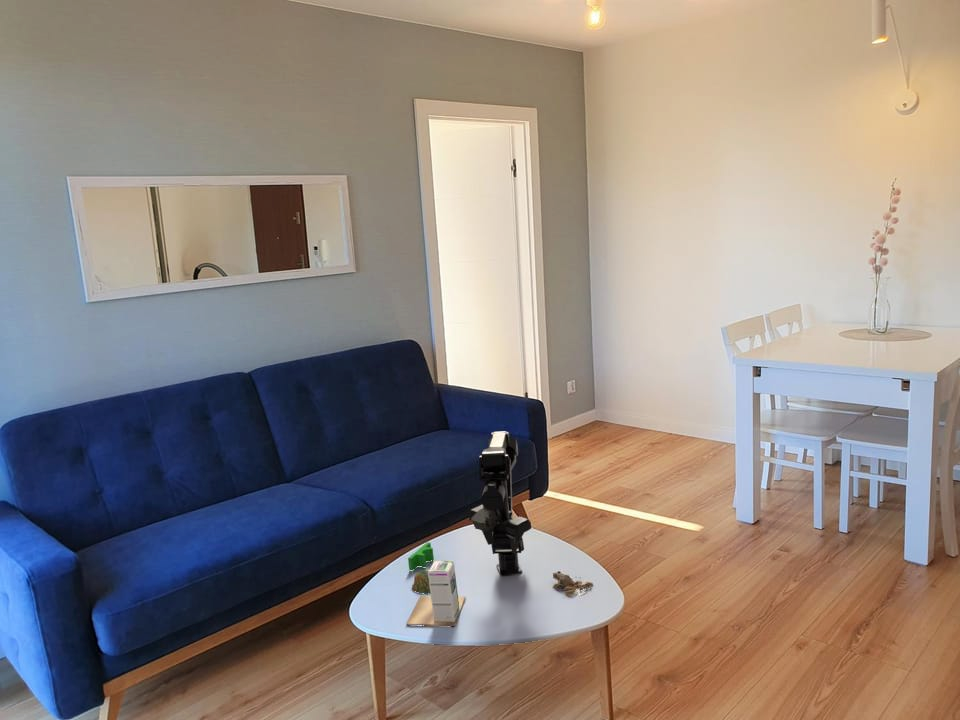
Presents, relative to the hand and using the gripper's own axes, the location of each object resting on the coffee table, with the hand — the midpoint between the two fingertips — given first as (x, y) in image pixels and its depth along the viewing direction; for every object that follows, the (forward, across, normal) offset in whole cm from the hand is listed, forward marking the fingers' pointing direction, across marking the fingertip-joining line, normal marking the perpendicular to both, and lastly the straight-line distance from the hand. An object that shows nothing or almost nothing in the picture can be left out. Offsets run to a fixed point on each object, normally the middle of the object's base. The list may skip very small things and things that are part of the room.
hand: (501, 548), depth 204 cm
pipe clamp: (+13, -32, -3) cm, 35 cm away
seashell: (+14, -21, -11) cm, 27 cm away
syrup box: (+13, -3, -19) cm, 23 cm away
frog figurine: (+14, +13, +13) cm, 23 cm away
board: (+13, -8, -19) cm, 24 cm away
